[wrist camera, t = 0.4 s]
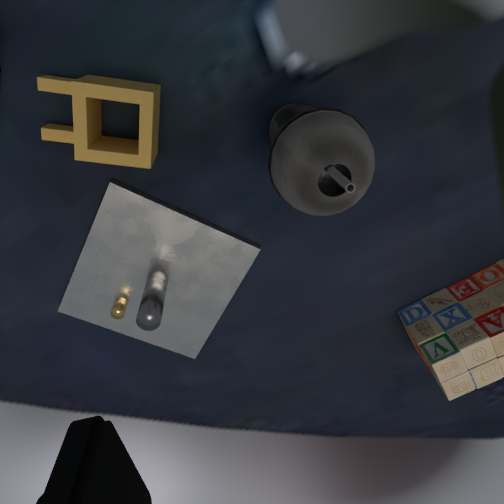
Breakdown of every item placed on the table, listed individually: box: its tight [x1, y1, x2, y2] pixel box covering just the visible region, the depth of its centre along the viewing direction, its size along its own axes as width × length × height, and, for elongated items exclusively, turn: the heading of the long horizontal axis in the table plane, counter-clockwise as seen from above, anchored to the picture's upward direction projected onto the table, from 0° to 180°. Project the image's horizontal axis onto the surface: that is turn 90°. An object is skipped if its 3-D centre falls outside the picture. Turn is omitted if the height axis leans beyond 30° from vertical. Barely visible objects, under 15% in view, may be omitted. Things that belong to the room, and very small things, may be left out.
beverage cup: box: [268, 103, 375, 216], centre depth 31 cm, size 7×7×20 cm
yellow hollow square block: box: [37, 75, 161, 169], centre depth 36 cm, size 10×6×5 cm, turn 82°
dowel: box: [110, 297, 128, 319], centre depth 45 cm, size 1×1×2 cm
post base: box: [58, 179, 261, 359], centre depth 42 cm, size 16×16×8 cm
